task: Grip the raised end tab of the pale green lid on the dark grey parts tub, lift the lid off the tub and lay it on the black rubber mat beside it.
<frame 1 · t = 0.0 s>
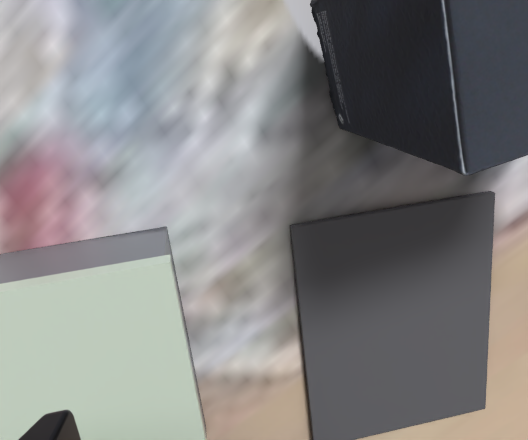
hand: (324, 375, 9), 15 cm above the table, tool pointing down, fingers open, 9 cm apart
small box: (425, 39, 22), on the table
lid: (84, 405, 20), point 4 cm above the table, touching tub
tub: (99, 351, 24), on the table
mat: (396, 324, 26), on the table
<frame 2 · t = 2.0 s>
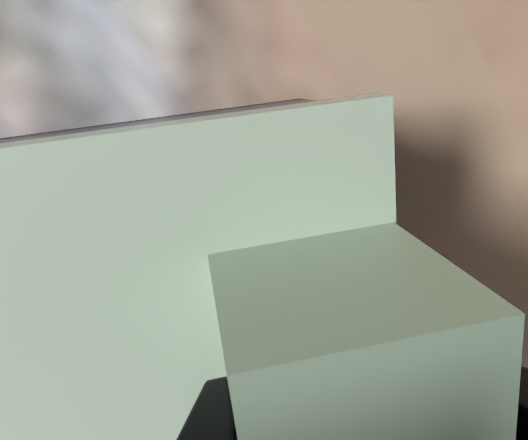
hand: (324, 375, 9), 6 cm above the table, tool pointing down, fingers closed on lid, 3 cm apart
lid: (92, 364, 10), point 4 cm above the table, touching gripper, tub
tub: (116, 282, 14), on the table
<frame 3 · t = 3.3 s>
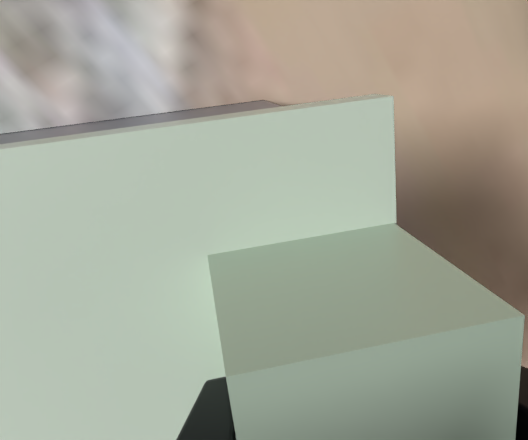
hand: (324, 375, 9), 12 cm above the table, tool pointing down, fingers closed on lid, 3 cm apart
lid: (92, 364, 10), point 10 cm above the table, touching gripper
tub: (134, 229, 19), on the table
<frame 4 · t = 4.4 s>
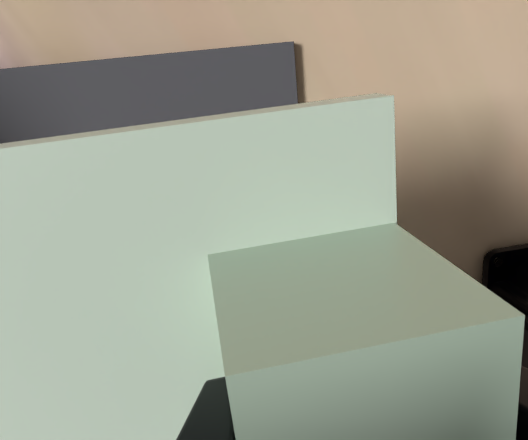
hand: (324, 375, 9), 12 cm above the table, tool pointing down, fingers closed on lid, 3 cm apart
lid: (92, 364, 10), point 10 cm above the table, touching gripper
mat: (135, 200, 19), on the table
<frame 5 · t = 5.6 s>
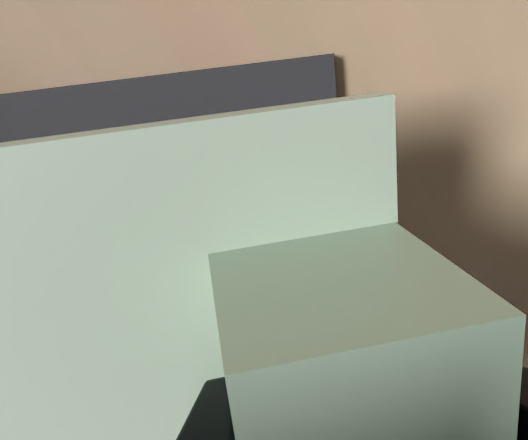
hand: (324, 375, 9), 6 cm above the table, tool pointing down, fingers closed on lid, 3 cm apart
lid: (93, 363, 10), point 4 cm above the table, touching gripper
mat: (112, 280, 14), on the table
when the fingers open (4 cm above the table, at t = 6.7 s): lid drops 1 cm, resting on mat.
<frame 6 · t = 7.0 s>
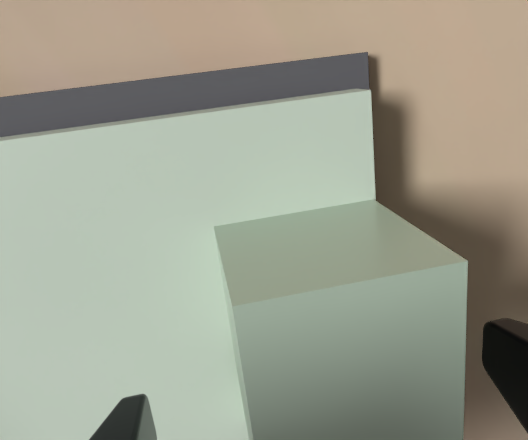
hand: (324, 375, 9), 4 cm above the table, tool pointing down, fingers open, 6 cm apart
lid: (112, 327, 11), resting on mat
mat: (103, 319, 12), on the table
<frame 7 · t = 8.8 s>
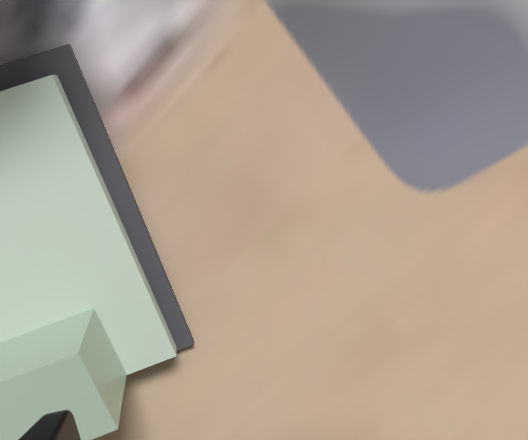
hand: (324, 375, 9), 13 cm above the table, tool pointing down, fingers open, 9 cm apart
lid: (13, 261, 20), resting on mat
mat: (14, 252, 20), on the table
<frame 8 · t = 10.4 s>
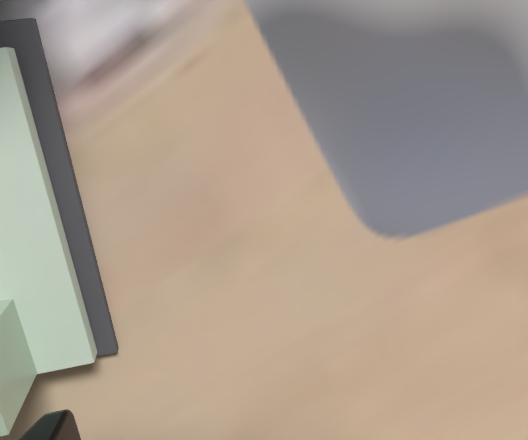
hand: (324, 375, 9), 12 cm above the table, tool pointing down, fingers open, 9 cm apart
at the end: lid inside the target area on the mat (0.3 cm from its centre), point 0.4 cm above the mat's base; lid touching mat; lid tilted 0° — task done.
